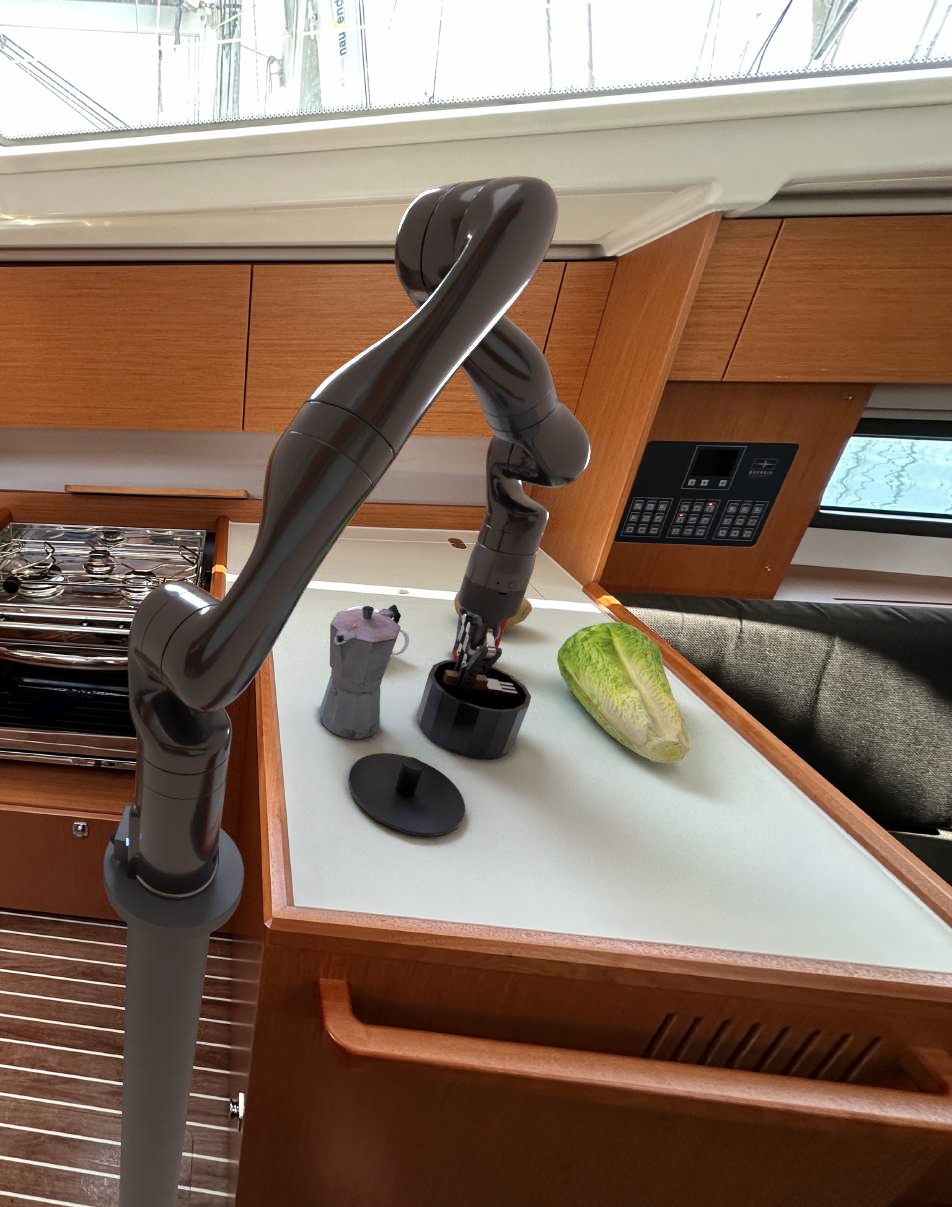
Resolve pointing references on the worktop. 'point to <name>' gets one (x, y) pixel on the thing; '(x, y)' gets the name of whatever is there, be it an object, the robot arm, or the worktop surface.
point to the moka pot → (358, 669)
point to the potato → (520, 617)
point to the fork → (483, 684)
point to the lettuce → (625, 689)
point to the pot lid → (406, 794)
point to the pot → (471, 715)
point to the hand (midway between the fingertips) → (461, 683)
